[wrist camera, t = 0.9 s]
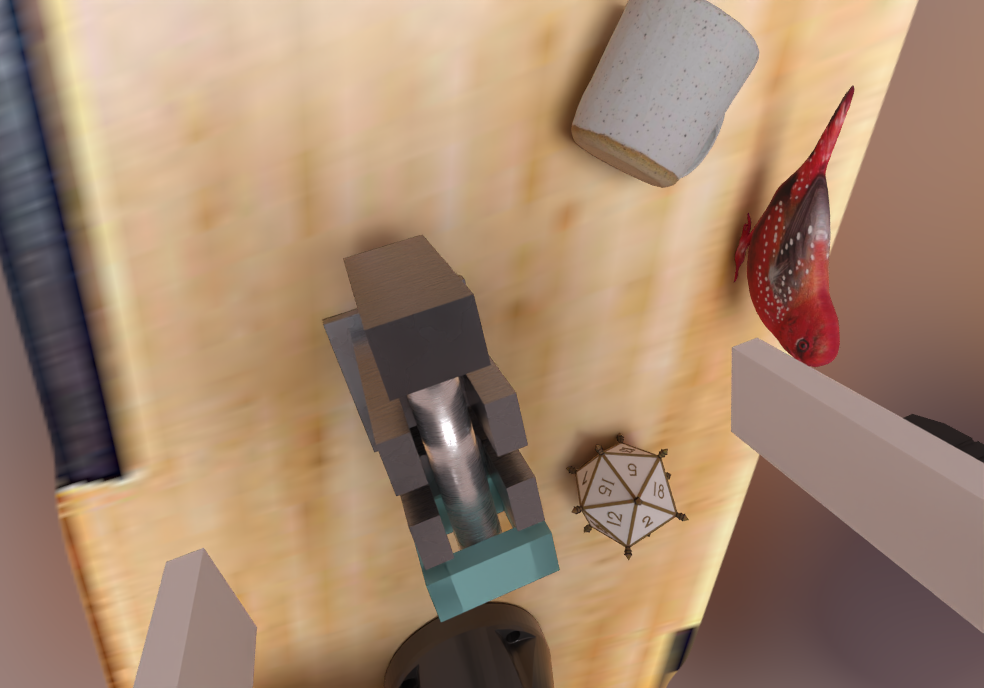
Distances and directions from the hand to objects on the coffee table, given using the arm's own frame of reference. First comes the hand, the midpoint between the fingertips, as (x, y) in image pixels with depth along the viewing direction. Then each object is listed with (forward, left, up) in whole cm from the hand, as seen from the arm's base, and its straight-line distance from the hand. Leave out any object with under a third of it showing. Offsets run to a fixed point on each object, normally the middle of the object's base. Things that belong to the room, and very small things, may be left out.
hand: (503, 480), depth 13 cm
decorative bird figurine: (-6, -26, -23) cm, 35 cm away
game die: (-23, -12, -23) cm, 35 cm away
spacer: (-16, 0, -17) cm, 23 cm away
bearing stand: (-9, 0, -23) cm, 24 cm away
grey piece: (-8, 0, -17) cm, 19 cm away
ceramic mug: (+4, -18, -23) cm, 30 cm away
